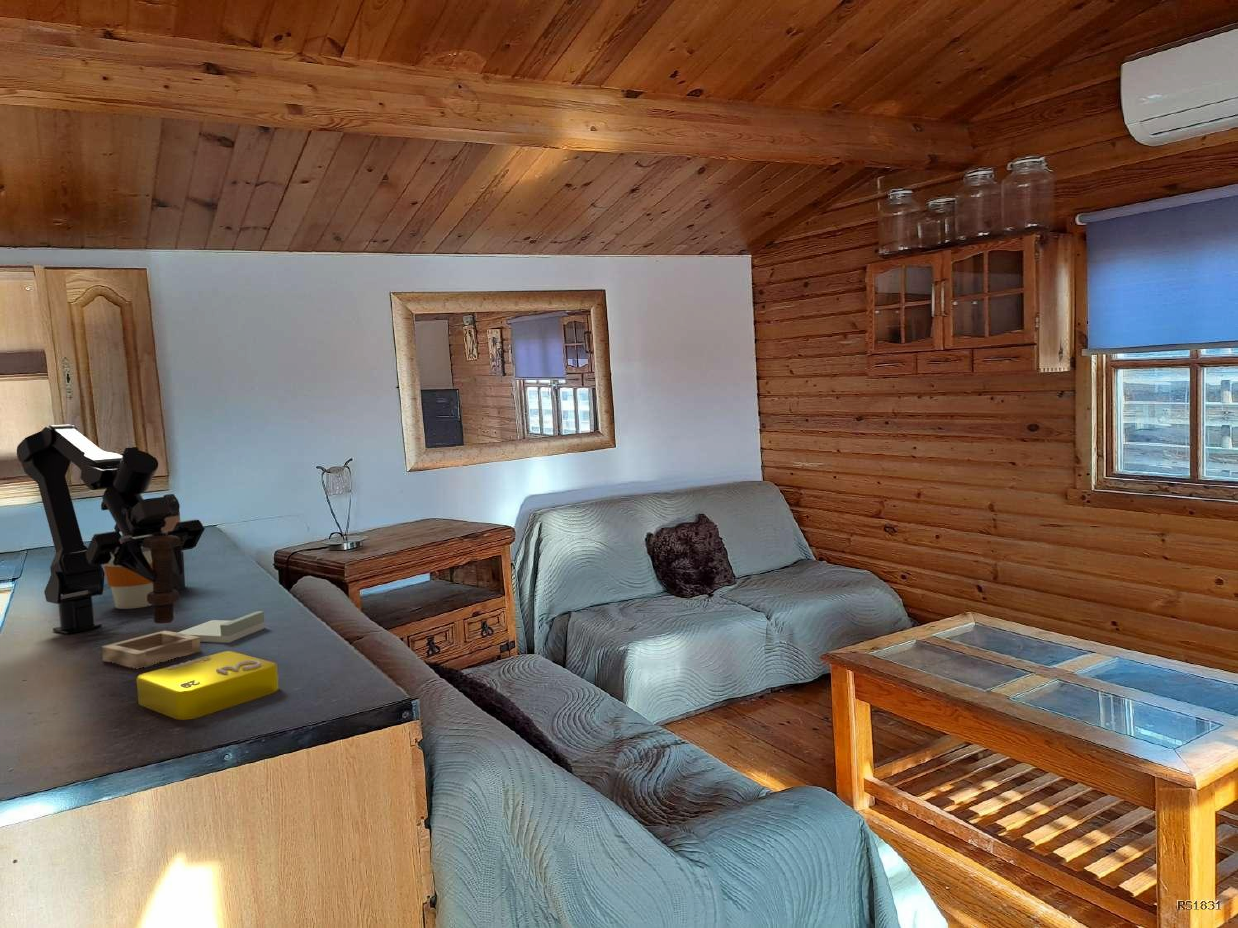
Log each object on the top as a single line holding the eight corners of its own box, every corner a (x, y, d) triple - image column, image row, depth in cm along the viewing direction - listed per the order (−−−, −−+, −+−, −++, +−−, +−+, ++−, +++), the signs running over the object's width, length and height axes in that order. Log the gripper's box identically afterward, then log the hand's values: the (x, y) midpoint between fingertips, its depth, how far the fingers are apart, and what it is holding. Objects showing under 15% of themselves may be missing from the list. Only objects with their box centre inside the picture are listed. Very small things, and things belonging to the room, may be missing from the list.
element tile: (231, 675, 139) (229, 646, 138) (284, 691, 130) (282, 660, 129) (133, 704, 127) (130, 672, 126) (183, 724, 118) (181, 690, 117)
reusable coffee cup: (153, 594, 202) (147, 530, 201) (181, 600, 195) (175, 534, 194) (95, 606, 192) (89, 539, 191) (122, 613, 185) (116, 543, 183)
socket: (103, 660, 149) (101, 646, 149) (165, 643, 158) (164, 630, 158) (138, 669, 143) (136, 654, 143) (201, 651, 152) (199, 637, 152)
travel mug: (193, 586, 210) (186, 504, 209) (165, 593, 203) (157, 508, 202) (171, 584, 213) (164, 503, 212) (143, 591, 206) (135, 508, 205)
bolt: (166, 626, 150) (164, 540, 148) (139, 625, 150) (137, 539, 149) (187, 618, 155) (185, 535, 154) (160, 617, 156) (158, 534, 155)
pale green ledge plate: (173, 640, 160) (172, 623, 160) (212, 625, 170) (211, 609, 170) (228, 642, 157) (227, 625, 157) (265, 627, 167) (263, 611, 166)
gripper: (87, 487, 145) (126, 557, 140) (195, 475, 161) (234, 538, 156) (69, 530, 150) (106, 600, 145) (175, 515, 166) (212, 578, 161)
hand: (167, 577), depth 152 cm, fingers closed on bolt, 4 cm apart
